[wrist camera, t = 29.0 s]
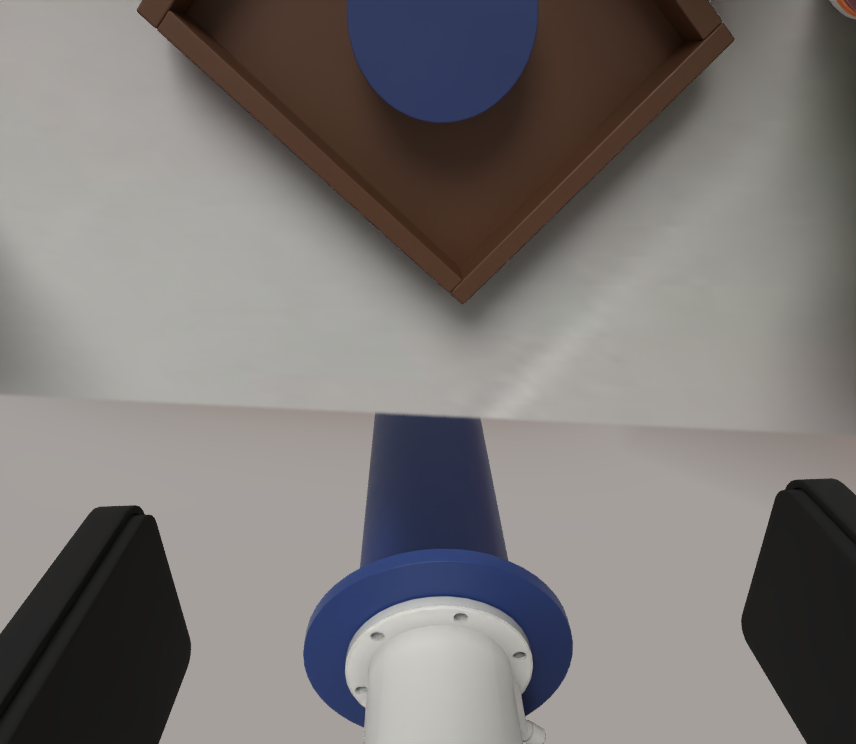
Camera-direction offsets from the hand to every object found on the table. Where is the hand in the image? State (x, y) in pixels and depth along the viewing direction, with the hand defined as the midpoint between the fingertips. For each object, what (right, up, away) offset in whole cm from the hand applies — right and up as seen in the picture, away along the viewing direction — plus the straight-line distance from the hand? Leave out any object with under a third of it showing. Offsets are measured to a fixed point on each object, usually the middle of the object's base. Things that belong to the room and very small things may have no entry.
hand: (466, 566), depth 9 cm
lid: (0, +15, +11) cm, 18 cm away
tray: (0, +16, +13) cm, 21 cm away
